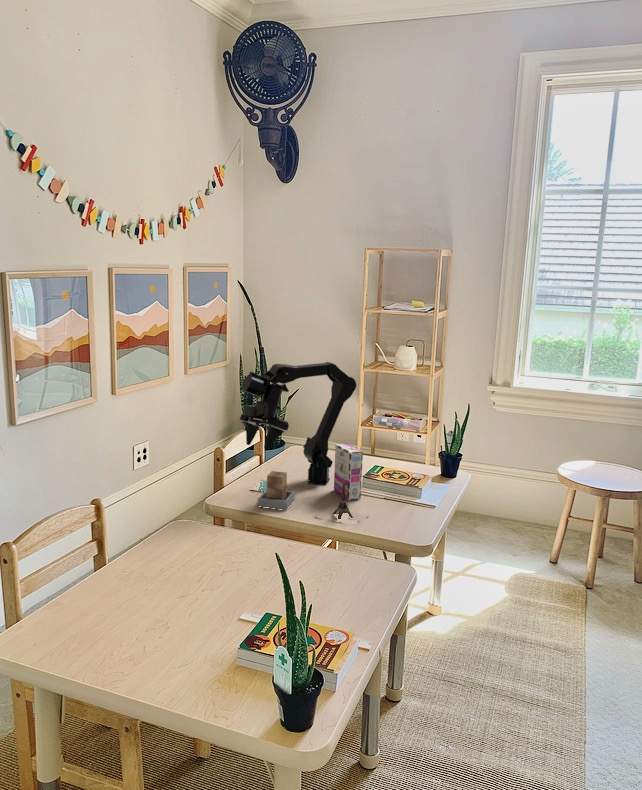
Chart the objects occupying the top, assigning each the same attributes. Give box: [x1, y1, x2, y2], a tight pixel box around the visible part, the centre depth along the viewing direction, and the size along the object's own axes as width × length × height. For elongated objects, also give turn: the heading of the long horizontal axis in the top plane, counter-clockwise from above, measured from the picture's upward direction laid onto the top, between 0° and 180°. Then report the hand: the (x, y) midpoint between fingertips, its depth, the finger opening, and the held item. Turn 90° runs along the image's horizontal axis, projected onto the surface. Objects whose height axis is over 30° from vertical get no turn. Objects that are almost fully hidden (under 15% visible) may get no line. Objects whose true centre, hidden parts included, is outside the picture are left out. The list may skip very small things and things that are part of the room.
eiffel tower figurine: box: [332, 480, 354, 519], centre depth 200 cm, size 15×10×13 cm
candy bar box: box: [333, 442, 364, 502], centre depth 218 cm, size 11×5×16 cm, turn 25°
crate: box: [257, 490, 296, 511], centre depth 209 cm, size 9×9×3 cm
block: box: [266, 470, 288, 501], centre depth 209 cm, size 5×5×10 cm
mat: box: [254, 479, 267, 491], centre depth 225 cm, size 10×10×1 cm
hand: (256, 446), depth 214 cm, fingers open, 9 cm apart
